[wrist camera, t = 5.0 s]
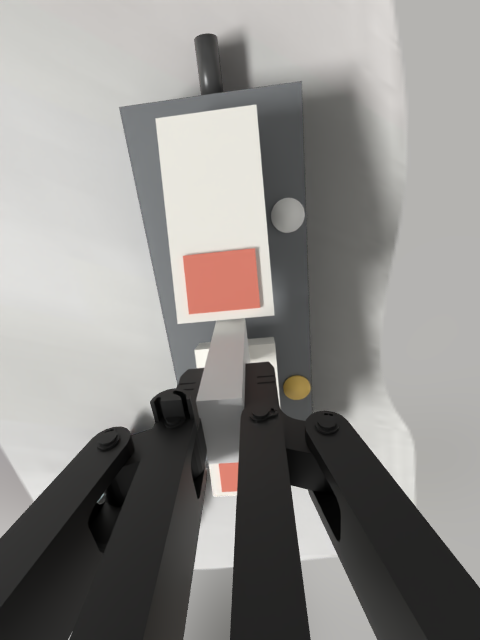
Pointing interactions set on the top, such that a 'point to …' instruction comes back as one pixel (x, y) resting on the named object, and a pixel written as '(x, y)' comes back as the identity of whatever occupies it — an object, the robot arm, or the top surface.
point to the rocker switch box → (281, 216)
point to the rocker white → (216, 214)
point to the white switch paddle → (264, 351)
